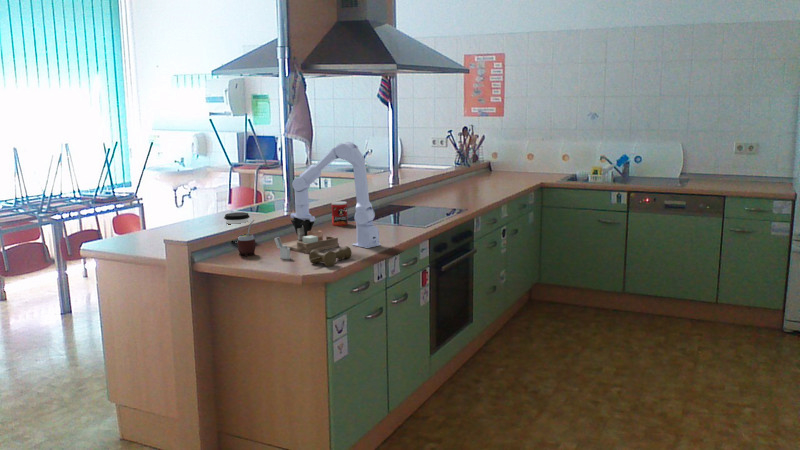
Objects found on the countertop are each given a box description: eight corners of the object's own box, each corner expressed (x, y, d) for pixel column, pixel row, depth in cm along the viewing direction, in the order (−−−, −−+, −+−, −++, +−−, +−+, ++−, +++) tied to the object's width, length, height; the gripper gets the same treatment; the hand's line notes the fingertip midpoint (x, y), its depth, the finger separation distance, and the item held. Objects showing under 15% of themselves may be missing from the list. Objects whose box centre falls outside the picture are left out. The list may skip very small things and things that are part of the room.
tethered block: (323, 241, 294) (322, 229, 293) (314, 243, 291) (313, 231, 290) (306, 238, 302) (306, 226, 301) (297, 239, 298) (297, 228, 297)
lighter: (290, 258, 270) (289, 238, 269) (287, 259, 269) (286, 239, 268) (278, 256, 275) (277, 236, 273) (274, 257, 273) (273, 237, 272)
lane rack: (338, 246, 291) (338, 237, 290) (306, 253, 279) (305, 244, 278) (310, 240, 304) (310, 232, 303) (278, 246, 292) (277, 238, 291)
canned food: (333, 226, 336) (332, 204, 334) (330, 223, 344) (330, 201, 342) (349, 225, 338) (348, 203, 336) (346, 222, 346) (345, 200, 344)
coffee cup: (240, 237, 313) (239, 211, 311) (256, 240, 306) (254, 213, 304) (220, 241, 305) (218, 214, 303) (235, 244, 298) (234, 217, 296)
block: (318, 247, 284) (317, 236, 283) (309, 249, 281) (309, 238, 280) (311, 245, 287) (310, 235, 286) (302, 247, 284) (302, 236, 283)
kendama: (357, 261, 267) (319, 270, 252) (339, 258, 273) (301, 266, 258) (356, 245, 266) (318, 253, 251) (338, 243, 273) (300, 251, 257)
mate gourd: (239, 253, 281) (237, 216, 279) (259, 252, 282) (257, 216, 279) (236, 257, 274) (234, 220, 271) (256, 256, 274) (254, 219, 272)
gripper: (320, 205, 295) (321, 236, 297) (299, 202, 305) (300, 232, 307) (307, 207, 290) (308, 239, 292) (286, 204, 300) (287, 234, 302)
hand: (303, 236), depth 299 cm, fingers open, 5 cm apart
